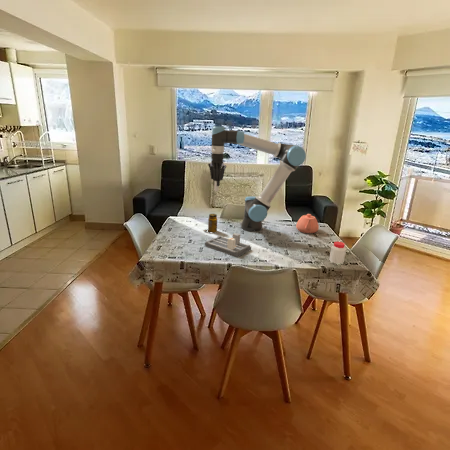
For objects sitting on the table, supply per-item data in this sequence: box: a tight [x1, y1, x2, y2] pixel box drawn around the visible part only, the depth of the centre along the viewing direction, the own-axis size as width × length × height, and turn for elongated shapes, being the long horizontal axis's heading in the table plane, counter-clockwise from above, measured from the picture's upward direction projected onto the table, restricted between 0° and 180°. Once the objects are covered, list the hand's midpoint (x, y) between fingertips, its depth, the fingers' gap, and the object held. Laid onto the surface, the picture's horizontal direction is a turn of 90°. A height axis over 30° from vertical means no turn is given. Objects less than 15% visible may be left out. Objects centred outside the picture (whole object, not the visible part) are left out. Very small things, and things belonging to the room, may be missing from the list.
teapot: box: [295, 213, 320, 234], centre depth 211 cm, size 22×16×12 cm
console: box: [204, 232, 252, 258], centre depth 176 cm, size 24×14×8 cm, turn 52°
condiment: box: [203, 213, 220, 234], centre depth 202 cm, size 7×8×12 cm
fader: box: [227, 237, 236, 250], centre depth 170 cm, size 4×3×6 cm
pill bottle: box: [328, 241, 347, 263], centre depth 163 cm, size 8×8×11 cm
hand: (216, 190), depth 190 cm, fingers closed
